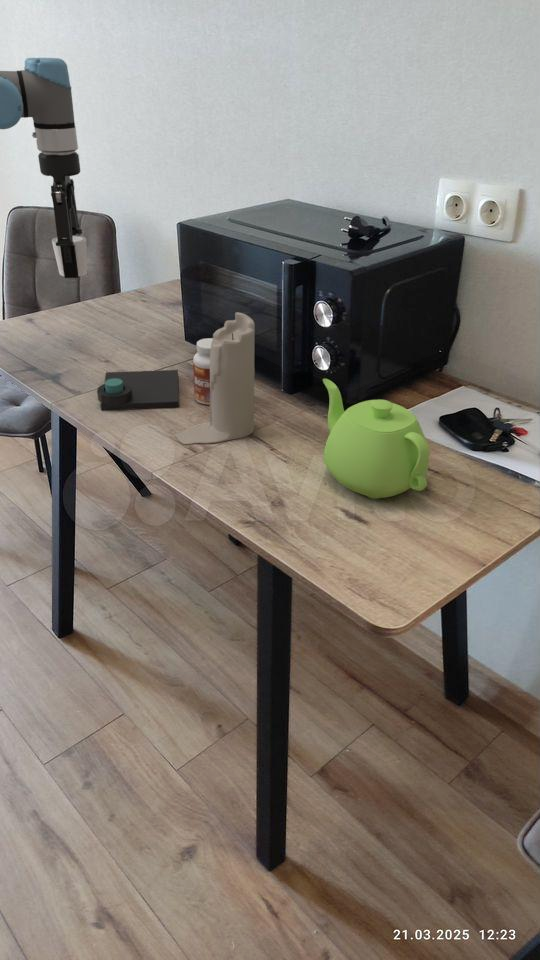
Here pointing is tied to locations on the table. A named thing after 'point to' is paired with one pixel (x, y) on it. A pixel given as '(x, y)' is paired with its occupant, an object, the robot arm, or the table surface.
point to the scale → (141, 390)
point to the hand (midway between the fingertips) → (73, 271)
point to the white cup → (80, 254)
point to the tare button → (114, 386)
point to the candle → (228, 385)
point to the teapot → (375, 447)
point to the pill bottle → (202, 371)
